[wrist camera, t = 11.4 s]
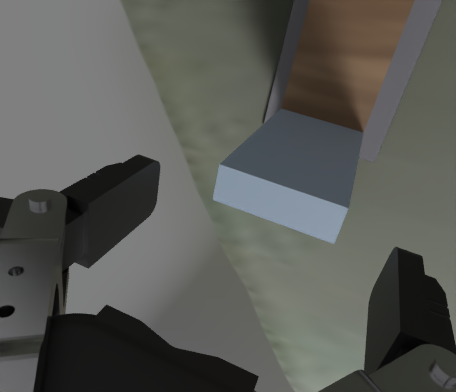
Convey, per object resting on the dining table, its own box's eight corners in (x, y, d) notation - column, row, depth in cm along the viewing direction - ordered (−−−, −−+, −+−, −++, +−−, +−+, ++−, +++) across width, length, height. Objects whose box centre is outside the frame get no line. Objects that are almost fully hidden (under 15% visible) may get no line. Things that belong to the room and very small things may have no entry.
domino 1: (326, -63, 19) (275, 128, 24) (431, -44, 18) (355, 152, 22) (330, -58, 20) (281, 121, 25) (428, -40, 19) (357, 144, 24)
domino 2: (281, 108, 23) (219, 164, 15) (363, 132, 22) (348, 208, 13) (274, 133, 24) (212, 199, 15) (353, 157, 23) (333, 243, 14)
